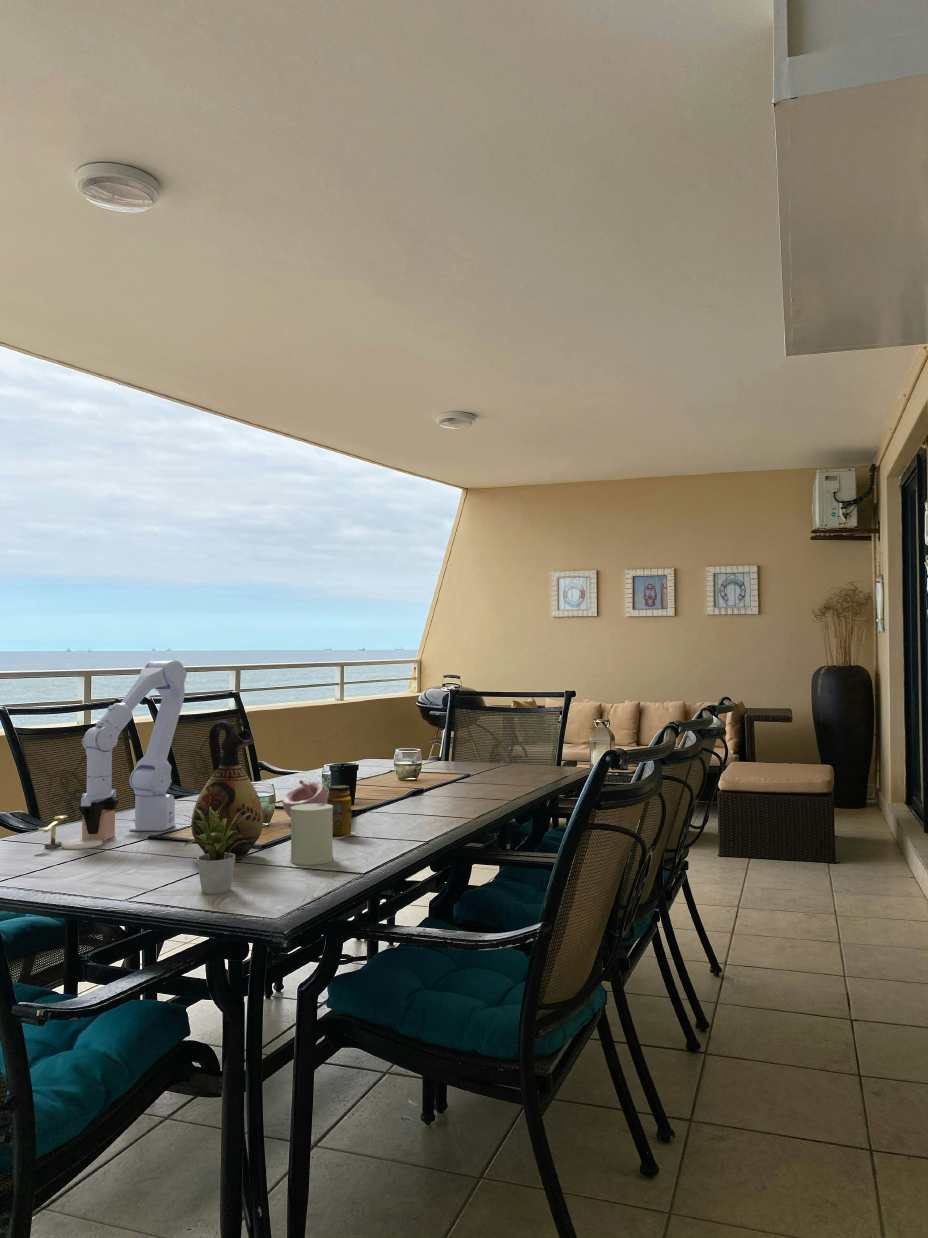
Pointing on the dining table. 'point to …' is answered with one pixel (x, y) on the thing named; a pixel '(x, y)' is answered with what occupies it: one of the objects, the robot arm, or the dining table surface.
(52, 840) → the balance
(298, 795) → the mortar and pestle
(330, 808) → the can
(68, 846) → the saucer
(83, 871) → the dining table surface
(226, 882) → the house plant
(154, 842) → the dining table surface
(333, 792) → the condiment
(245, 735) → the ceramic jug
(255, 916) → the dining table surface
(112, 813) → the peach wooden cube
